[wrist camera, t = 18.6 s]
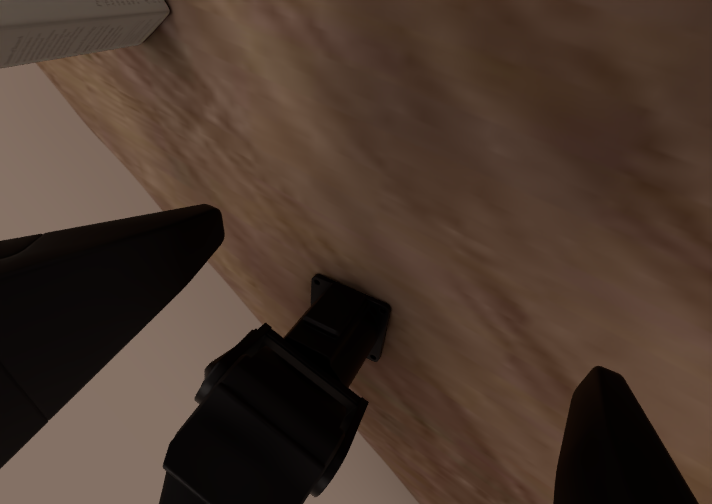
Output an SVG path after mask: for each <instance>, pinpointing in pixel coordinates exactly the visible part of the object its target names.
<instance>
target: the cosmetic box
mask: <svg viewBox="0 0 712 504" xmlns="http://www.w3.org/2000/svg"><path fill="white" fill-rule="evenodd" d="M169 13H170V10H169V8H168V6H167V4H166V2H165V1H164V0H0V68H6V67H12V66H17V65H24V64H30V63H35V62H41V61H47V60H53V59H59V58H65V57H71V56H77V55H83V54H89V53H95V52H101V51H106V50H112V49H118V48H124V47H129V46H136V45H140V44H141V43H142V42H144V41H145V39H146V38H147V37H149V36H150V34H152V33H153V31H154V30H155V29H156V28H157V27H158V26H159V25H160V24H161V23H162V21H163V20H164V19H165V18H166V17H167V15H168V14H169Z"/></svg>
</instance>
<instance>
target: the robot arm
mask: <svg viewBox="0 0 712 504" xmlns="http://www.w3.org/2000/svg"><path fill="white" fill-rule="evenodd" d="M224 236H225V233H224V227H223V220H222V214H221V212H220V210H219V209H218V208H215V207H213V206H210V205H208V204H201V205H196V206H190V207H185V208H179V209H174V210H168V211H163V212H157V213H152V214H146V215H141V216H135V217H130V218H125V219H119V220H114V221H108V222H103V223H97V224H92V225H86V226H81V227H75V228H70V229H65V230H59V231H54V232H48V233H45V234H38V235H31V236H26V237H21V238H14V239H9V240H3V241H0V468H1V467H3V466H4V464H6V463H7V462H8V461H9V460H10V459H11V458H12V457H13V456H14V455H15V454H16V453H17V452H18V451H19V450H20V449H21V448H22V447H23V446H24V445H25V444H26V443H27V442H28V441H29V440H30V439H31V438H32V437H33V436H34V435H35V434H36V433H37V432H38V431H39V430H40V429H41V428H42V427H43V426H44V425H45V424H46V423H47V422H48V420H50V419H51V418H52V417H53V416H54V415H55V414H56V413H57V412H58V411H59V410H60V409H61V408H62V407H63V406H64V405H65V404H66V403H67V402H68V401H69V400H70V399H71V398H73V397H74V396H75V395H76V394H77V392H79V391H80V390H81V389H82V388H83V387H84V386H85V385H86V384H87V383H88V382H89V381H90V380H91V379H92V378H93V377H94V376H95V375H96V374H97V373H98V372H99V371H100V370H101V369H102V368H103V367H104V366H105V365H106V364H107V363H108V362H109V361H110V360H111V359H112V358H113V357H114V356H115V355H116V354H117V353H118V352H119V351H120V350H121V349H122V348H123V347H124V346H125V345H127V344H128V343H129V342H130V340H132V339H133V338H134V337H135V336H136V335H137V334H138V333H139V332H140V331H141V330H142V329H143V328H144V327H145V326H146V325H147V324H148V323H149V322H150V321H151V320H152V319H153V318H154V317H155V316H156V315H157V314H158V313H159V312H160V311H161V310H162V309H163V308H164V307H165V306H166V305H167V304H168V303H169V302H170V301H171V300H172V299H173V298H174V297H175V296H176V295H177V294H179V292H181V291H182V289H183V288H184V287H185V286H186V285H187V284H188V283H189V282H190V281H191V279H193V277H194V276H195V275H196V274H197V273H198V271H199V270H200V269H201V268H202V267H203V265H204V264H205V263H206V262H207V261H208V259H209V258H210V257H211V256H212V255H213V253H214V252H215V251H216V250H217V249H218V247H219V246H220V245H221V244H222V242H223V240H224ZM383 309H384V310H383ZM390 313H391V307H390V306H389V305H388V304H387V303H385V302H383V301H380V300H378V299H376V298H373V297H371V296H369V295H366V294H364V293H362V292H360V291H357V290H355V289H353V288H350V287H348V286H346V285H343V284H341V283H339V282H336V281H334V280H332V279H329V278H327V277H325V276H323V275H320V274H316V275H315V276H314V277H313V278H312V283H311V307H310V308H309V309H308V310H307V311H306V312H305V314H304V315H303V316H302V317H301V318H300V319H299V320H298V322H297V323H296V324H295V325H294V326H293V327H292V329H291V330H290V331H289V332H288V333H287V334H286V336H285V337H284V338H283V337H281V336H280V335H279V334H278V333H276V332H275V331H274V330H272V329H271V328H272V327H271V326H269V325H268V324H267V323H264V324H263V325H262V326H261V327H260V328H259V329H258V330H257V329H255V330H251V331H250V332H249V333H248V334H247V335H246V337H245V338H243V340H241V342H239V343H238V344H237V345H236V346H235V347H234V348H232V349H231V350H229V351H228V352H226V353H225V354H223V355H222V356H220V357H219V358H217V359H215V360H214V361H212V362H211V363H210V364H209V365H208V366H207V367H206V369H205V380H204V381H203V383H202V385H201V388H200V389H199V391H198V392H197V394H196V396H195V401H196V402H197V403H199V404H200V405H199V406H198V407H197V408H196V410H195V411H194V412H193V413H192V415H191V416H190V417H189V418H188V420H187V421H186V422H185V423H184V425H183V426H182V427H181V428H180V430H179V431H178V432H177V434H176V435H175V437H174V439H173V440H172V441H171V442H170V444H169V447H168V450H167V453H166V457H165V460H164V463H163V468H164V469H165V470H166V475H165V480H164V485H163V489H162V493H161V497H160V502H159V504H303V503H304V501H305V500H306V498H307V497H308V495H309V494H311V495H312V496H314V497H317V496H319V495H320V494H321V493H322V492H323V491H324V489H325V488H326V487H327V485H328V484H329V483H330V481H331V480H332V479H333V477H334V475H335V474H336V473H337V471H338V469H339V468H340V466H341V464H342V463H343V461H344V459H345V457H346V455H347V453H348V451H349V448H350V446H351V444H352V441H353V439H354V436H355V434H356V432H357V429H358V427H359V425H360V422H361V420H362V417H363V415H364V412H365V410H366V408H367V405H368V403H369V402H368V401H367V400H365V399H364V398H363V397H361V398H360V397H359V396H358V395H357V394H355V393H354V392H353V391H351V390H350V389H349V386H350V384H351V383H352V381H353V379H354V378H355V376H356V374H357V373H358V371H359V370H360V368H361V366H362V365H363V363H364V361H365V360H366V358H367V359H370V360H372V361H374V362H377V361H378V360H379V359H380V357H381V353H382V349H383V344H384V340H385V335H386V331H387V326H388V322H389V317H390ZM553 504H699V503H698V502H697V500H696V498H695V497H694V495H693V493H692V492H691V490H690V488H689V487H688V485H687V483H686V481H685V480H684V478H683V476H682V475H681V473H680V471H679V470H678V468H677V466H676V465H675V463H674V461H673V460H672V458H671V456H670V455H669V453H668V451H667V450H666V448H665V446H664V445H663V443H662V441H661V440H660V438H659V436H658V435H657V433H656V431H655V429H654V428H653V426H652V424H651V423H650V421H649V419H648V418H647V416H646V414H645V413H644V411H643V409H642V408H641V406H640V404H639V403H638V401H637V399H636V398H635V396H634V394H633V393H632V391H631V389H630V388H629V386H628V384H627V383H626V381H625V379H624V378H623V377H622V376H621V375H620V374H619V373H616V372H614V371H611V370H609V369H607V368H604V367H602V366H596V367H594V368H593V369H592V370H591V371H590V372H589V373H588V375H587V376H586V377H585V378H584V379H583V381H582V382H581V383H580V384H579V386H578V387H577V388H576V390H575V391H574V393H573V396H572V399H571V404H570V408H569V413H568V418H567V422H566V427H565V432H564V437H563V441H562V446H561V451H560V455H559V460H558V465H557V471H556V479H555V490H554V502H553Z"/></svg>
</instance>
